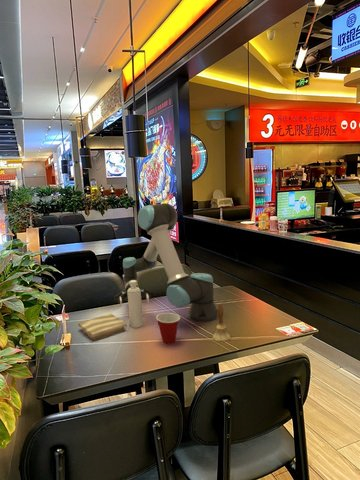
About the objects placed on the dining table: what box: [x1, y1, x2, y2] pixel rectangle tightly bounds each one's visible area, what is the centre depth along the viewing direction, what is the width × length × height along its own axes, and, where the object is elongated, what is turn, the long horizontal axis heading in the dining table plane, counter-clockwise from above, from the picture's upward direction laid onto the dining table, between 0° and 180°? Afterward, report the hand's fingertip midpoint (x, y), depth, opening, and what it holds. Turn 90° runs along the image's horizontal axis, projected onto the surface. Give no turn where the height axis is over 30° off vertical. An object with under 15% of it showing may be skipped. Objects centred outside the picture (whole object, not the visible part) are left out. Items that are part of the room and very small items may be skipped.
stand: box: [77, 312, 128, 341], centre depth 179 cm, size 18×18×4 cm
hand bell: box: [212, 303, 232, 342], centre depth 163 cm, size 8×8×16 cm
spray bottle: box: [127, 280, 144, 329], centre depth 182 cm, size 7×7×25 cm
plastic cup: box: [155, 312, 181, 345], centre depth 163 cm, size 11×11×12 cm
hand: (134, 301), depth 179 cm, fingers open, 13 cm apart
